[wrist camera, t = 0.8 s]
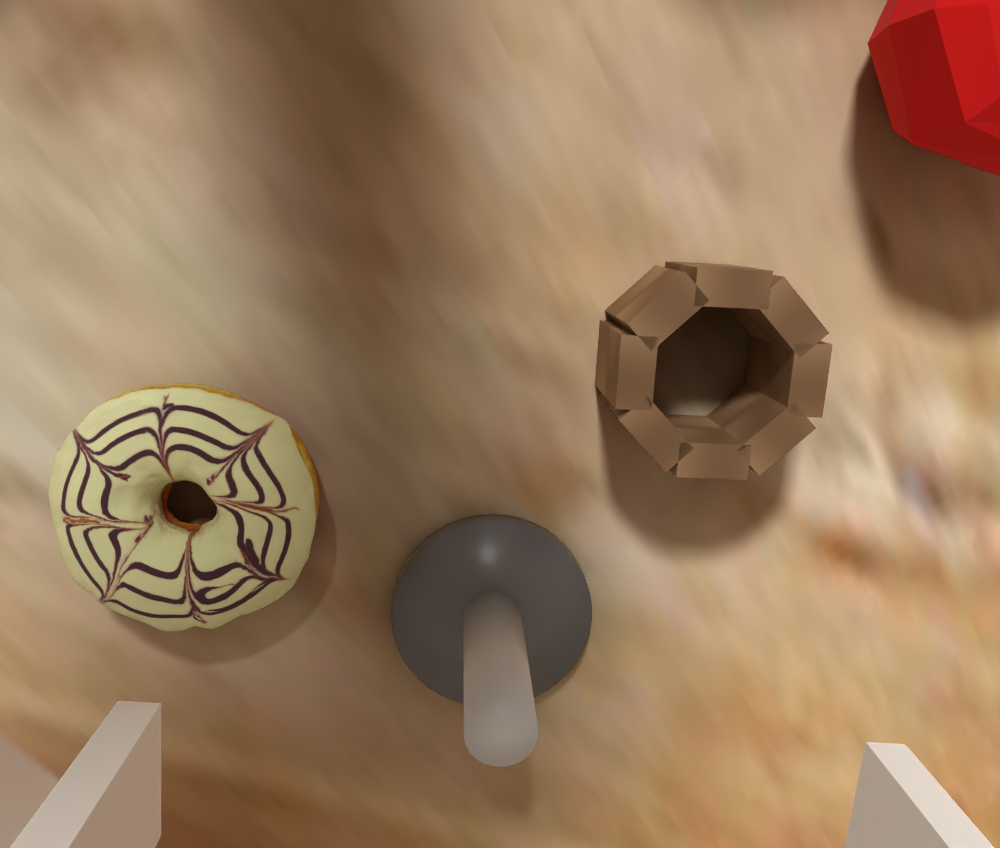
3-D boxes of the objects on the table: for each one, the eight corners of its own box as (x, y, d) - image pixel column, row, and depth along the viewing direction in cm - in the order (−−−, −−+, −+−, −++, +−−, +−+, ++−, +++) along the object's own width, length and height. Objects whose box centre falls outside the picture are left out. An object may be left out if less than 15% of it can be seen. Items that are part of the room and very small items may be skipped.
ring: (604, 258, 36) (627, 263, 31) (790, 267, 36) (842, 274, 31) (590, 442, 37) (609, 475, 33) (768, 449, 38) (813, 482, 33)
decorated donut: (335, 594, 39) (322, 633, 35) (99, 608, 39) (61, 649, 35) (313, 370, 36) (296, 386, 33) (60, 383, 36) (15, 402, 32)
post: (395, 511, 38) (372, 610, 28) (595, 517, 38) (641, 617, 29) (391, 693, 40) (368, 844, 30) (581, 696, 40) (619, 847, 31)
